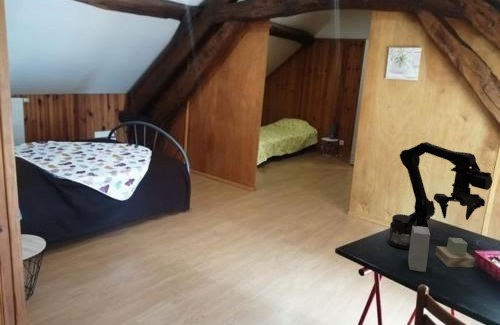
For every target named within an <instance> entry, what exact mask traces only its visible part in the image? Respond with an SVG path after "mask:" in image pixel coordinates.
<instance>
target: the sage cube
mask: <svg viewBox="0 0 500 325" xmlns="http://www.w3.org/2000/svg"><path fill="white" fill-rule="evenodd" d="M468 246H469V244H468V243H467V241H465V240H464V239H463V238H461V237H448V240H447V245H446V247H447V250H448V251H449V252H450V253H451V254H452V255H463V256H465V255H466V252H467V249H468Z"/></svg>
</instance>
